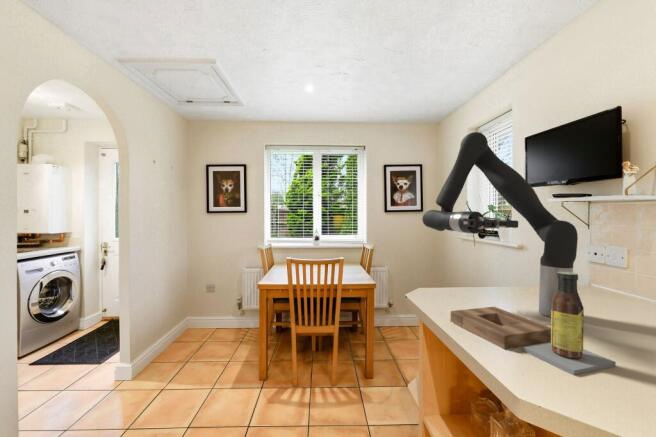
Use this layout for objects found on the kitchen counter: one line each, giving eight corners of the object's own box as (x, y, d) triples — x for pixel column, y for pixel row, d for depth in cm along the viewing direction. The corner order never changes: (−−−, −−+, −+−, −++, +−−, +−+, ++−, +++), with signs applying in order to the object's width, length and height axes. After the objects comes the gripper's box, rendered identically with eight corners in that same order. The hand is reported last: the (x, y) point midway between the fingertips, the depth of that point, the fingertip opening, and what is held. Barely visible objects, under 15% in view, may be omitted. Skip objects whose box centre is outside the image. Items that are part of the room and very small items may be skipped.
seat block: (494, 316, 102) (494, 306, 102) (554, 341, 83) (554, 328, 83) (450, 321, 97) (450, 311, 97) (504, 349, 78) (504, 335, 78)
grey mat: (561, 344, 81) (561, 340, 81) (615, 366, 70) (615, 361, 70) (522, 350, 77) (522, 346, 77) (573, 375, 66) (573, 370, 66)
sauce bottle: (589, 361, 70) (592, 276, 69) (558, 358, 71) (561, 275, 71) (572, 349, 76) (575, 271, 76) (544, 346, 78) (547, 269, 77)
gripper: (449, 211, 103) (488, 211, 88) (482, 211, 108) (524, 212, 92) (449, 232, 103) (487, 236, 88) (482, 232, 108) (524, 236, 92)
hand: (506, 224), depth 90 cm, fingers open, 8 cm apart
